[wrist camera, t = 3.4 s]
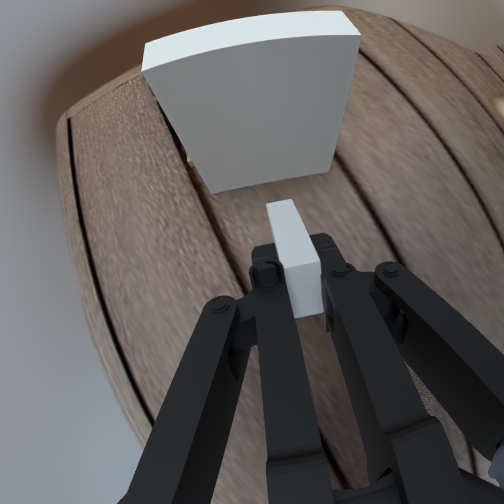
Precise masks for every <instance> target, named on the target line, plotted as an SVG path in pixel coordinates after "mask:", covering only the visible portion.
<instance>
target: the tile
mask: <svg viewBox="0 0 504 504" xmlns="http://www.w3.org/2000/svg"><path fill="white" fill-rule="evenodd" d="M360 39H361V34H360V33H359V31H358V30H357V29H356V28H355V26H354V25H353V24H352V23H351V22H350V20H349V19H348V18H347V17H346V16H345V15H344V13H343V12H342V11H305V12H290V13H278V14H269V15H261V16H254V17H247V18H241V19H235V20H230V21H225V22H220V23H215V24H211V25H207V26H203V27H198V28H194V29H191V30H187V31H183V32H180V33H176V34H173V35H170V36H167V37H164V38H160V39H158V40H154V41H152V42H149V43H146V45H145V51H144V57H143V64H142V73H143V75H144V77H145V78H146V80H147V82H148V84H149V85H150V87H151V89H152V91H153V93H154V94H155V96H156V98H157V100H158V101H159V103H160V105H161V107H162V109H163V110H164V112H165V114H166V116H167V117H168V119H169V121H170V123H171V124H172V126H173V128H174V130H175V132H176V133H177V135H178V137H179V139H180V140H181V142H182V144H183V146H184V147H185V149H186V151H187V153H188V154H189V156H190V158H191V160H192V161H193V163H194V165H195V167H196V169H197V170H198V172H199V174H200V176H201V177H202V179H203V181H204V183H205V184H206V186H207V188H208V190H209V191H210V193H211V194H214V193H219V192H223V191H228V190H233V189H238V188H242V187H247V186H252V185H257V184H262V183H268V182H273V181H278V180H284V179H290V178H295V177H301V176H307V175H313V174H319V173H326V172H329V170H330V166H331V163H332V159H333V155H334V151H335V148H336V144H337V140H338V136H339V132H340V128H341V124H342V120H343V116H344V112H345V108H346V104H347V99H348V95H349V91H350V86H351V82H352V78H353V73H354V68H355V64H356V59H357V54H358V49H359V44H360Z"/></svg>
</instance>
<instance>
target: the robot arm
mask: <svg viewBox="0 0 504 504" xmlns="http://www.w3.org/2000/svg"><path fill="white" fill-rule="evenodd" d="M266 207H267V212H268V217H269V223H270V228H271V233H272V239H273V243H272V244H267V245H262V246H257V247H255V248H254V249H253V251H252V253H251V255H252V266H251V267H250V269H249V276H250V280H251V284H252V287H253V289H252V291H251V292H250V293H249V294H248V295H246V296H244V297H243V298H240V299H238V300H235V299H234V298H232V297H231V296H218V297H215V298H213V299H211V300H210V301H209V302H207V304H206V305H205V306H204V308H203V311H202V313H201V315H200V317H199V320H198V322H197V324H196V327H195V329H194V331H193V333H192V336H191V338H190V340H189V343H188V345H187V347H186V350H185V352H184V354H183V357H182V359H181V361H180V364H179V366H178V368H177V371H176V373H175V376H174V378H173V380H172V383H171V385H170V387H169V390H168V392H167V395H166V397H165V399H164V402H163V404H162V407H161V409H160V411H159V414H158V416H157V419H156V421H155V424H154V426H153V429H152V431H151V433H150V436H149V438H148V441H147V443H146V446H145V448H144V451H143V453H142V456H141V459H140V461H139V463H138V466H137V469H136V471H135V474H134V476H133V479H132V481H131V484H130V486H129V489H128V492H127V493H126V494H125V496H124V497H123V498H122V499H121V500H120V501H119V502H118V503H117V504H210V503H211V499H212V496H213V492H214V488H215V485H216V481H217V478H218V474H219V470H220V467H221V463H222V459H223V456H224V452H225V448H226V444H227V441H228V437H229V433H230V429H231V426H232V422H233V418H234V414H235V410H236V406H237V402H238V398H239V395H240V391H241V387H242V383H243V379H244V375H245V371H246V367H247V363H248V359H249V355H250V347H252V346H254V345H257V344H258V353H259V364H260V375H261V387H262V398H263V409H264V420H265V431H266V442H267V454H268V459H267V462H266V477H267V489H268V500H269V504H504V355H503V354H502V353H501V352H500V351H499V350H498V349H497V348H496V347H495V346H494V345H493V344H492V343H491V342H490V341H489V340H488V339H486V338H485V337H484V336H483V335H482V334H481V333H480V332H479V331H478V330H477V329H476V328H475V327H474V326H473V325H472V324H471V323H470V322H468V321H467V320H466V319H465V318H464V317H463V316H462V315H461V314H460V313H459V312H457V311H456V310H455V309H454V308H453V307H452V306H451V305H449V304H448V303H447V302H446V301H445V300H444V299H443V298H441V297H440V296H439V295H438V294H437V293H436V292H434V291H433V290H432V289H431V288H430V287H429V286H427V285H426V284H425V283H424V282H422V281H421V280H420V279H419V278H418V277H416V276H415V275H414V274H413V273H411V272H410V271H409V270H408V269H407V268H405V267H404V266H403V265H401V264H399V263H396V262H383V263H380V264H379V265H377V267H376V268H375V272H360V271H356V269H355V267H354V266H353V265H351V264H349V263H346V262H345V260H344V258H343V256H342V254H341V253H340V251H339V249H338V248H337V246H336V244H335V242H334V241H333V239H332V237H331V236H329V235H328V234H326V233H320V234H315V235H308V233H307V230H306V228H305V226H304V224H303V222H302V220H301V218H300V216H299V213H298V211H297V209H296V207H295V205H294V203H293V201H292V199H289V200H283V201H278V202H273V203H267V204H266ZM323 305H324V308H325V311H326V332H327V333H328V332H329V331H330V334H331V337H332V340H333V343H334V346H335V349H336V353H337V356H338V359H339V362H340V365H341V369H342V372H343V375H344V378H345V382H346V385H347V388H348V392H349V395H350V398H351V402H352V405H353V409H354V412H355V416H356V419H357V423H358V427H359V430H360V434H361V438H362V441H363V445H364V449H365V453H366V457H367V471H368V478H369V482H370V485H369V486H367V487H365V488H362V489H348V490H332V487H331V481H330V476H329V471H328V466H327V461H326V457H325V453H324V451H323V447H322V443H321V438H320V433H319V428H318V423H317V418H316V414H315V409H314V404H313V399H312V395H311V390H310V385H309V381H308V376H307V371H306V367H305V362H304V358H303V353H302V349H301V345H300V340H299V336H298V331H297V327H296V323H295V318H299V317H304V316H309V315H314V314H318V313H323V312H324V311H323ZM403 359H404V360H405V361H406V363H407V364H408V365H409V366H410V367H411V369H412V370H413V371H414V372H415V373H416V375H417V376H418V377H419V378H420V379H421V381H422V382H423V383H424V384H425V385H426V387H427V388H428V389H429V390H430V392H431V393H432V394H433V395H434V397H435V398H436V399H437V400H438V402H439V403H440V404H441V405H442V407H443V408H444V409H445V410H446V412H447V413H448V414H449V416H450V417H451V418H452V419H453V421H454V422H455V423H456V425H457V426H458V427H459V428H460V430H461V431H462V432H463V434H464V435H465V436H466V438H467V439H468V440H469V442H470V443H471V444H472V445H473V446H474V448H475V449H476V450H477V451H478V452H479V453H480V454H482V455H483V456H484V457H485V458H486V459H488V460H489V461H491V462H492V463H491V466H490V468H489V470H488V475H489V477H490V478H492V479H496V480H497V482H498V483H499V485H500V487H498V486H496V485H493V484H491V483H489V482H487V481H485V480H483V479H481V478H479V477H477V476H475V475H473V474H471V473H469V472H467V471H465V470H463V469H461V468H460V467H458V465H457V462H456V460H455V457H454V454H453V451H452V449H451V446H450V443H449V441H448V438H447V436H446V433H445V431H444V428H443V426H442V424H441V422H440V421H439V420H438V419H437V418H436V417H433V416H430V415H429V414H428V413H427V411H426V410H425V407H424V405H423V402H422V400H421V398H420V395H419V393H418V391H417V389H416V386H415V384H414V382H413V380H412V377H411V375H410V373H409V371H408V369H407V367H406V364H405V362H404V360H403Z"/></svg>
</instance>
